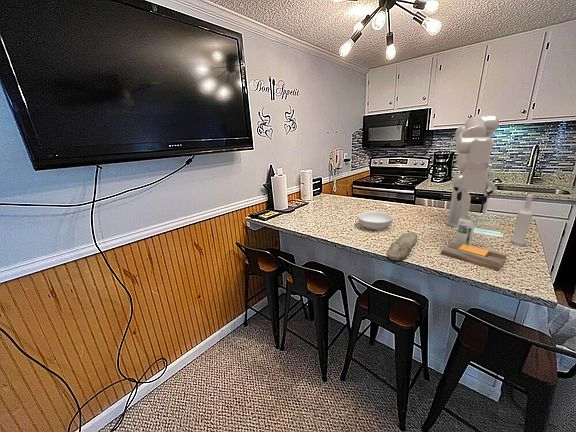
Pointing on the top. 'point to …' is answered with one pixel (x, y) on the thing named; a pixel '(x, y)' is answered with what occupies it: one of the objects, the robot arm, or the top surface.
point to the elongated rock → (402, 246)
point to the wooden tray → (475, 256)
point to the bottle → (522, 223)
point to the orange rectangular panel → (474, 250)
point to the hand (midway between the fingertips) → (470, 202)
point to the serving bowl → (375, 219)
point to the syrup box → (465, 230)
